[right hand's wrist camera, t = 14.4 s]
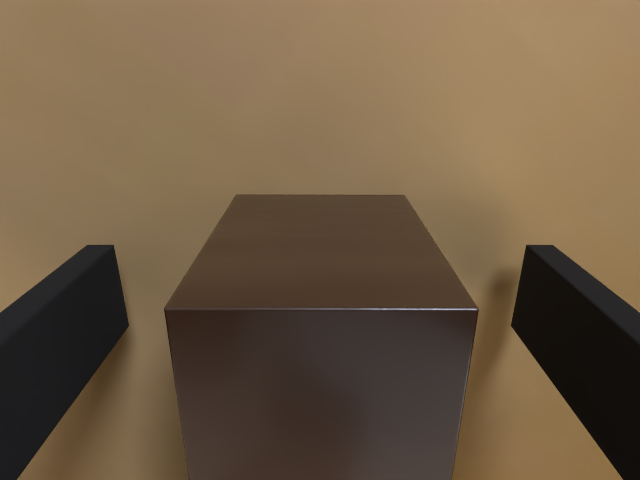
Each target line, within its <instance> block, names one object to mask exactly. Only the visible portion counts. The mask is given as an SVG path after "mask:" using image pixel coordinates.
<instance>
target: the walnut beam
mask: <svg viewBox="0 0 640 480" xmlns="http://www.w3.org/2000/svg"><path fill="white" fill-rule="evenodd" d="M164 311H165V318H166V325H167V331H168V338H169V345H170V352H171V358H172V365H173V372H174V379H175V385H176V392H177V399H178V406H179V412H180V419H181V426H182V433H183V439H184V446H185V453H186V460H187V466H188V473H189V480H452V474H453V468H454V461H455V455H456V449H457V443H458V436H459V430H460V424H461V418H462V411H463V405H464V399H465V393H466V386H467V380H468V374H469V367H470V361H471V355H472V349H473V342H474V336H475V330H476V324H477V317H478V311H479V309H478V307H477V306H476V304H475V303H474V301H473V299H472V298H471V296H470V295H469V293H468V292H467V290H466V289H465V287H464V286H463V284H462V283H461V281H460V280H459V278H458V276H457V275H456V273H455V272H454V270H453V269H452V267H451V266H450V264H449V263H448V261H447V260H446V258H445V257H444V255H443V253H442V252H441V250H440V249H439V247H438V246H437V244H436V243H435V241H434V240H433V238H432V237H431V235H430V233H429V232H428V230H427V229H426V227H425V226H424V224H423V223H422V221H421V220H420V218H419V217H418V215H417V214H416V212H415V210H414V209H413V207H412V206H411V204H410V203H409V201H408V200H407V198H406V197H405V196H404V195H236V196H235V197H234V199H233V201H232V202H231V204H230V205H229V207H228V208H227V210H226V212H225V213H224V215H223V216H222V218H221V220H220V221H219V223H218V224H217V226H216V227H215V229H214V231H213V232H212V234H211V235H210V237H209V238H208V240H207V242H206V243H205V245H204V246H203V248H202V249H201V251H200V253H199V254H198V256H197V257H196V259H195V261H194V262H193V264H192V265H191V267H190V268H189V270H188V272H187V273H186V275H185V276H184V278H183V279H182V281H181V283H180V284H179V286H178V287H177V289H176V290H175V292H174V294H173V295H172V297H171V298H170V300H169V302H168V303H167V305H166V306H165V308H164Z"/></svg>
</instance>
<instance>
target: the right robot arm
mask: <svg viewBox="0 0 640 480" xmlns="http://www.w3.org/2000/svg"><path fill="white" fill-rule="evenodd" d="M128 326H129V323H128V318H127V313H126V307H125V302H124V297H123V292H122V286H121V281H120V276H119V270H118V265H117V260H116V255H115V249H114V245H87V246H86V247H84V248H83V249H82V250H80V251H79V252H78V253H77V254H75V255H74V256H73V257H71V258H70V259H69V260H68V261H66V262H65V263H64V264H62V265H61V266H60V267H59V268H57V269H56V270H55V271H53V272H52V273H51V274H50V275H48V276H47V277H46V278H44V279H43V280H42V281H41V282H39V283H38V284H37V285H35V286H34V287H33V288H32V289H30V290H29V291H28V292H26V293H25V294H24V295H23V296H21V297H20V298H19V299H17V300H16V301H15V302H14V303H12V304H11V305H10V306H8V307H7V308H6V309H5V310H3V311H2V312H1V313H0V480H17V479H18V477H19V476H20V475H21V473H22V472H23V470H24V469H25V468H26V466H27V465H28V464H29V462H30V461H31V459H32V458H33V457H34V455H35V454H36V453H37V451H38V450H39V448H40V447H41V446H42V444H43V443H44V442H45V440H46V439H47V437H48V436H49V435H50V433H51V432H52V431H53V429H54V428H55V427H56V425H57V424H58V422H59V421H60V420H61V418H62V417H63V416H64V414H65V413H66V411H67V410H68V409H69V407H70V406H71V405H72V403H73V402H74V400H75V399H76V398H77V396H78V395H79V394H80V392H81V391H82V390H83V388H84V387H85V385H86V384H87V383H88V381H89V380H90V379H91V377H92V376H93V374H94V373H95V372H96V370H97V369H98V368H99V366H100V365H101V363H102V362H103V361H104V359H105V358H106V357H107V355H108V354H109V353H110V351H111V350H112V348H113V347H114V346H115V344H116V343H117V342H118V340H119V339H120V337H121V336H122V335H123V333H124V332H125V331H126V329H127V328H128ZM511 326H512V328H513V329H514V331H515V332H516V333H517V335H518V336H519V337H520V339H521V340H522V342H523V343H524V344H525V346H526V347H527V348H528V350H529V351H530V353H531V354H532V355H533V357H534V358H535V359H536V361H537V362H538V363H539V365H540V366H541V368H542V369H543V370H544V372H545V373H546V374H547V376H548V377H549V379H550V380H551V381H552V383H553V384H554V385H555V387H556V388H557V390H558V391H559V392H560V394H561V395H562V396H563V398H564V399H565V401H566V402H567V403H568V405H569V406H570V407H571V409H572V410H573V411H574V413H575V414H576V416H577V417H578V418H579V420H580V421H581V422H582V424H583V425H584V427H585V428H586V429H587V431H588V432H589V433H590V435H591V436H592V438H593V439H594V440H595V442H596V443H597V444H598V446H599V447H600V448H601V450H602V451H603V453H604V454H605V455H606V457H607V458H608V459H609V461H610V462H611V464H612V465H613V466H614V468H615V469H616V470H617V472H618V473H619V475H620V476H621V477H622V479H623V480H640V313H639V312H638V311H637V310H635V309H634V308H633V307H632V306H630V305H629V304H628V303H626V302H625V301H624V300H623V299H621V298H620V297H619V296H617V295H616V294H615V293H614V292H612V291H611V290H610V289H608V288H607V287H606V286H605V285H603V284H602V283H601V282H599V281H598V280H597V279H596V278H594V277H593V276H592V275H590V274H589V273H588V272H587V271H585V270H584V269H583V268H581V267H580V266H579V265H578V264H576V263H575V262H574V261H572V260H571V259H570V258H569V257H567V256H566V255H565V254H563V253H562V252H561V251H560V250H558V249H557V248H556V247H554V246H553V245H526V249H525V255H524V260H523V265H522V270H521V276H520V281H519V286H518V291H517V297H516V302H515V307H514V313H513V318H512V323H511Z"/></svg>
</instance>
